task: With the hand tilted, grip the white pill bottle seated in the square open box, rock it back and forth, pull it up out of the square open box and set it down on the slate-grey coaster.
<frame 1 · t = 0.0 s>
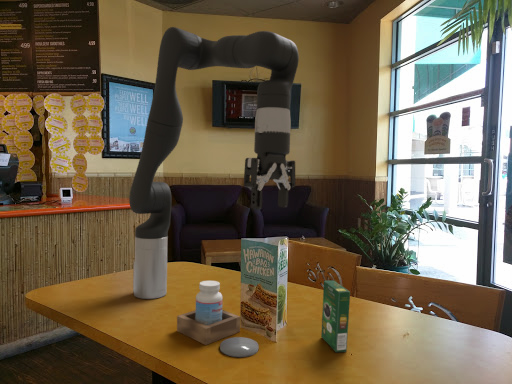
hand: (270, 208, 83), 29 cm above the table, tool pointing down, fingers open, 8 cm apart
coffee box: (333, 345, 84), on the table
pill bottle: (208, 332, 89), resting in square open box
square open box: (208, 331, 89), on the table
coaster: (239, 348, 81), on the table
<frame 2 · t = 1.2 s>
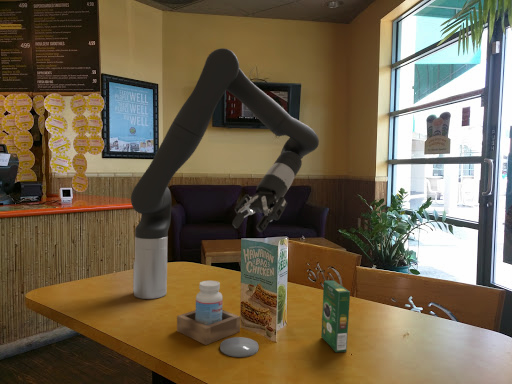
hand: (246, 228, 99), 23 cm above the table, tool tilted 45°, fingers open, 8 cm apart
nothing on the table moved.
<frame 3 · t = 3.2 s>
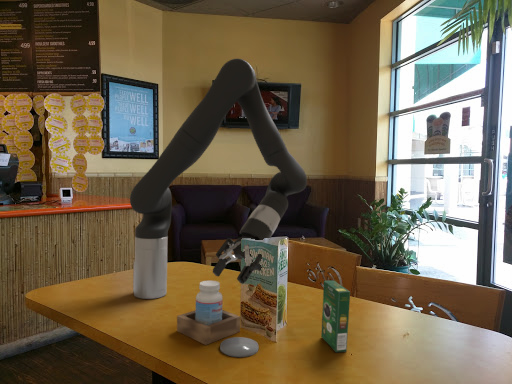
hand: (227, 278, 92), 11 cm above the table, tool tilted 45°, fingers open, 8 cm apart
nothing on the table moved.
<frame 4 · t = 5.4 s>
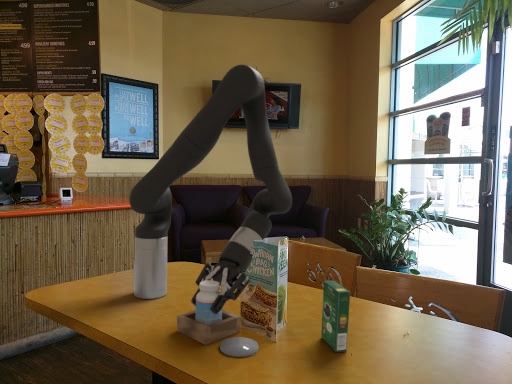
hand: (203, 308, 87), 6 cm above the table, tool tilted 45°, fingers closed on pill bottle, 6 cm apart
pill bottle: (208, 332, 89), resting in square open box, touching gripper
everything else where it was.
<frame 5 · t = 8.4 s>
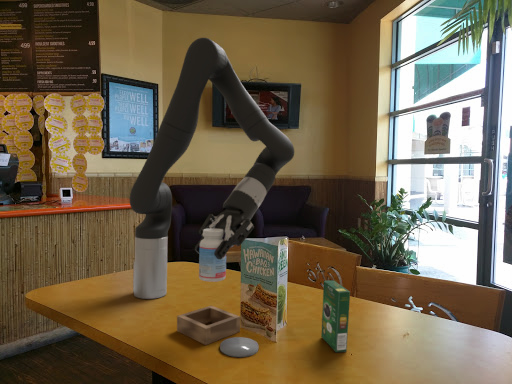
hand: (207, 254, 87), 18 cm above the table, tool tilted 45°, fingers closed on pill bottle, 6 cm apart
pill bottle: (212, 279, 88), point 12 cm above the table, touching gripper
everything else where it was.
when the fingers open (8 cm above the table, at t = 11.6 s): pill bottle drops 1 cm, resting on coaster.
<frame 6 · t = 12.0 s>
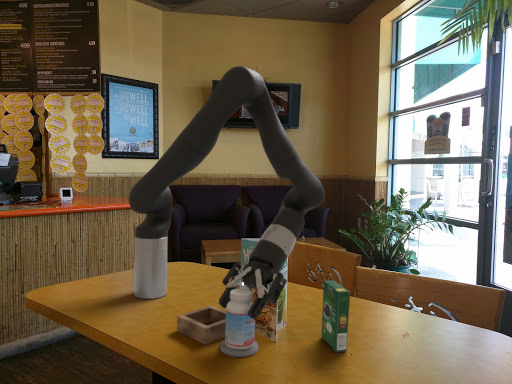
hand: (235, 311, 79), 8 cm above the table, tool tilted 45°, fingers open, 8 cm apart
pill bottle: (239, 345, 81), resting on coaster
everything else where it was.
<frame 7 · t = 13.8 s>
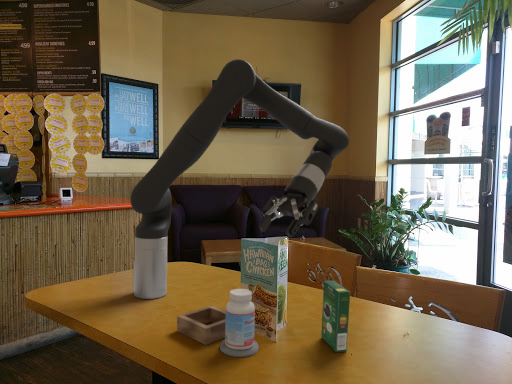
hand: (274, 232, 93), 23 cm above the table, tool tilted 45°, fingers open, 8 cm apart
nothing on the table moved.
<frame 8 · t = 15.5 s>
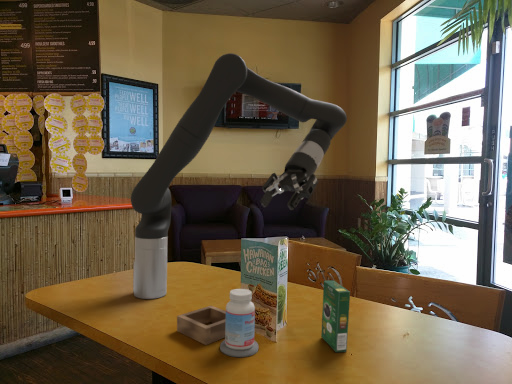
hand: (275, 206, 95), 29 cm above the table, tool tilted 45°, fingers open, 8 cm apart
nothing on the table moved.
at the end: pill bottle 0.3 cm from the coaster (horizontally); pill bottle tilted 1°; the gripper is holding nothing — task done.
